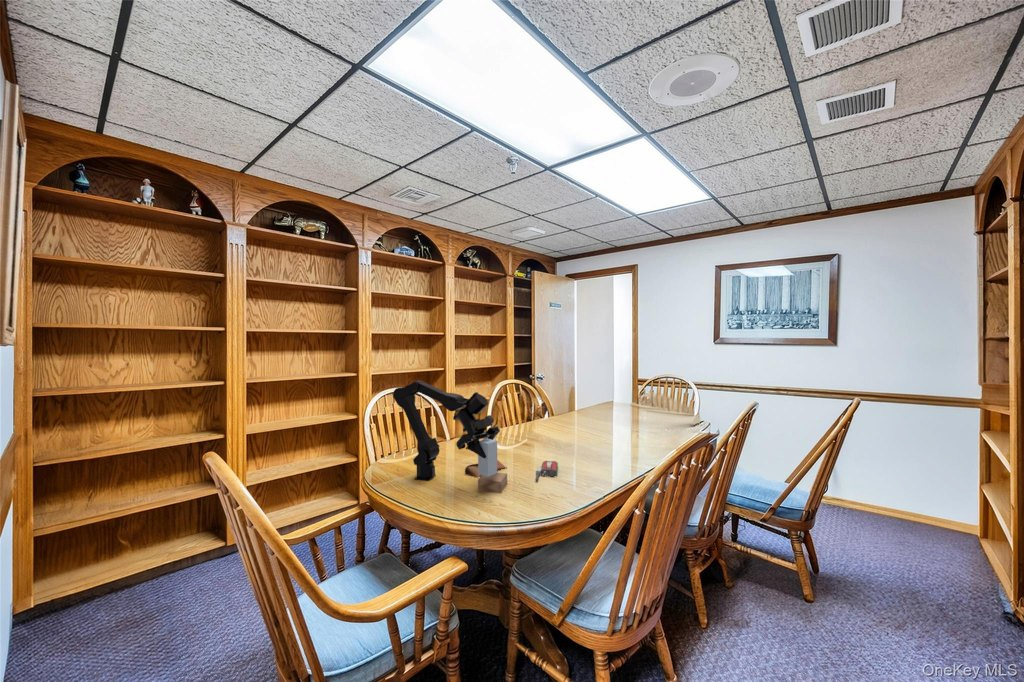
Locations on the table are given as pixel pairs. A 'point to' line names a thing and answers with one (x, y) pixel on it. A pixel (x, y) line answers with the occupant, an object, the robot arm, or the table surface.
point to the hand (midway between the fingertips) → (490, 456)
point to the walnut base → (492, 482)
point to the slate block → (488, 458)
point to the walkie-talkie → (547, 469)
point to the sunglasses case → (473, 469)
